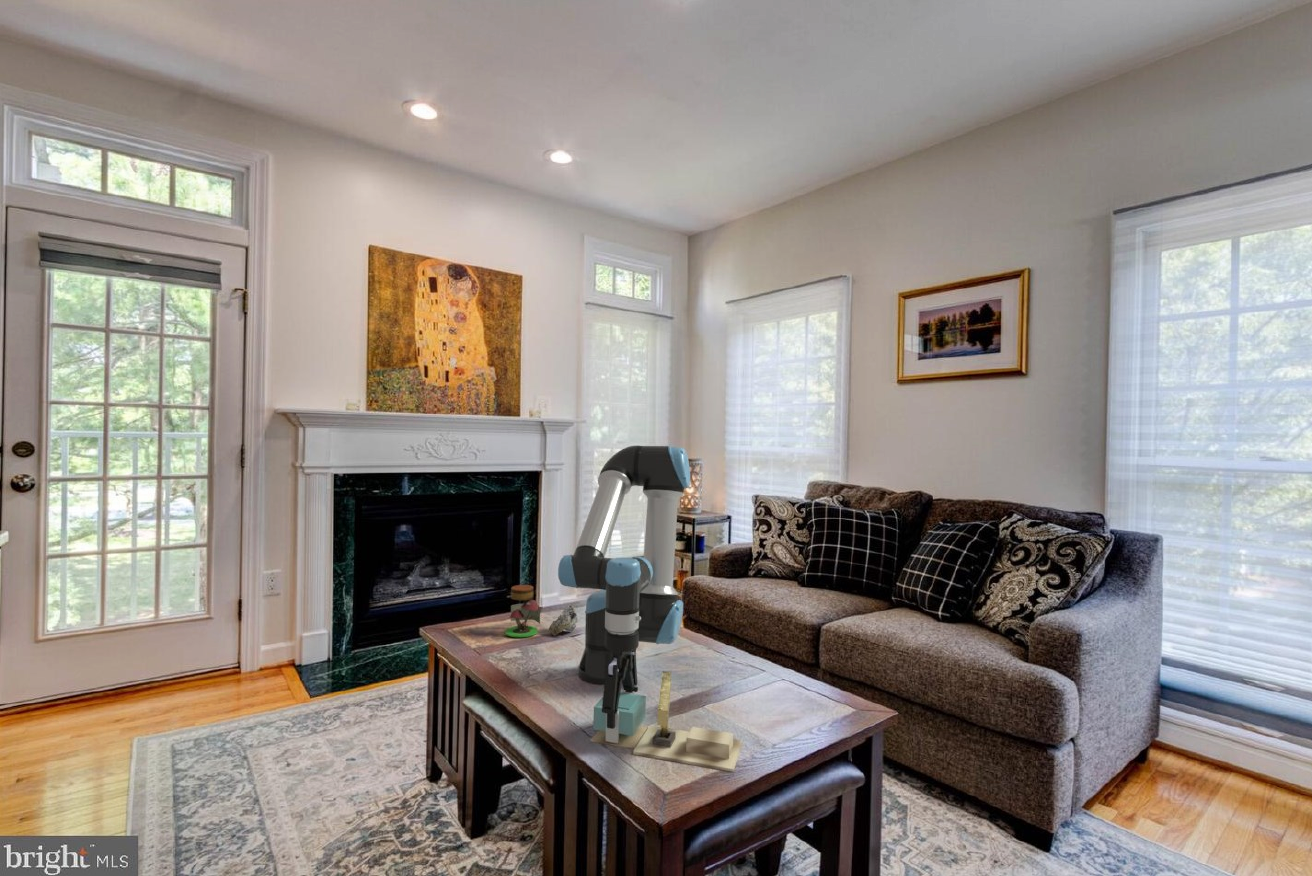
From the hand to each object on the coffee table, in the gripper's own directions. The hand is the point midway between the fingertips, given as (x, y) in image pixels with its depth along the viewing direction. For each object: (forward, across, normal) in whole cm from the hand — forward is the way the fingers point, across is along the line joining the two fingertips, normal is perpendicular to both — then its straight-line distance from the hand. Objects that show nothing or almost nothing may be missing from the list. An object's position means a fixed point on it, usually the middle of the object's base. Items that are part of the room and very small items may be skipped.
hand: (619, 730), depth 135 cm
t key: (+1, -1, -10) cm, 11 cm away
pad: (+1, 0, 0) cm, 1 cm away
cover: (-2, 0, 0) cm, 2 cm away
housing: (+1, -1, -16) cm, 16 cm away
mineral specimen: (-3, +56, +38) cm, 67 cm away
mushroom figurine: (+1, +54, +54) cm, 77 cm away
